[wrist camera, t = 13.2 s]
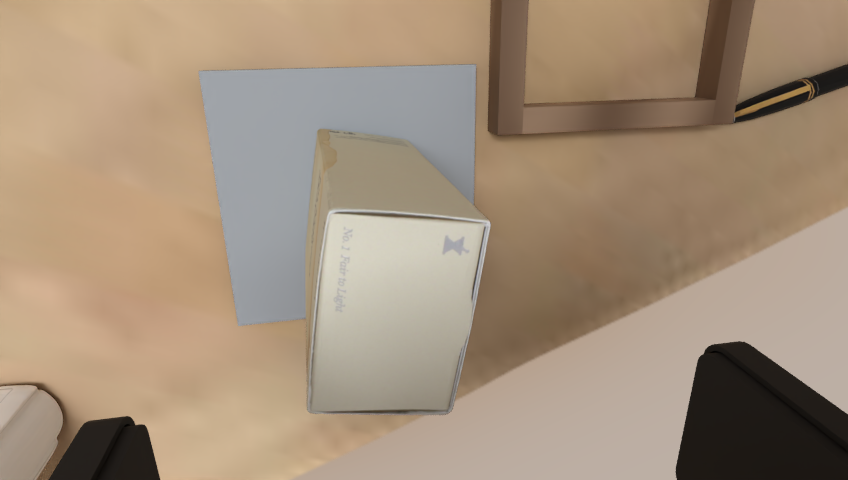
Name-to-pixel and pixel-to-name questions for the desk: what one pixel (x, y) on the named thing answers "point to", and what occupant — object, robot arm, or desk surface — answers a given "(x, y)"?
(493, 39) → the collar
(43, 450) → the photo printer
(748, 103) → the fountain pen
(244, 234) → the rubber mat
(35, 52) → the desk surface
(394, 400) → the skincare box
